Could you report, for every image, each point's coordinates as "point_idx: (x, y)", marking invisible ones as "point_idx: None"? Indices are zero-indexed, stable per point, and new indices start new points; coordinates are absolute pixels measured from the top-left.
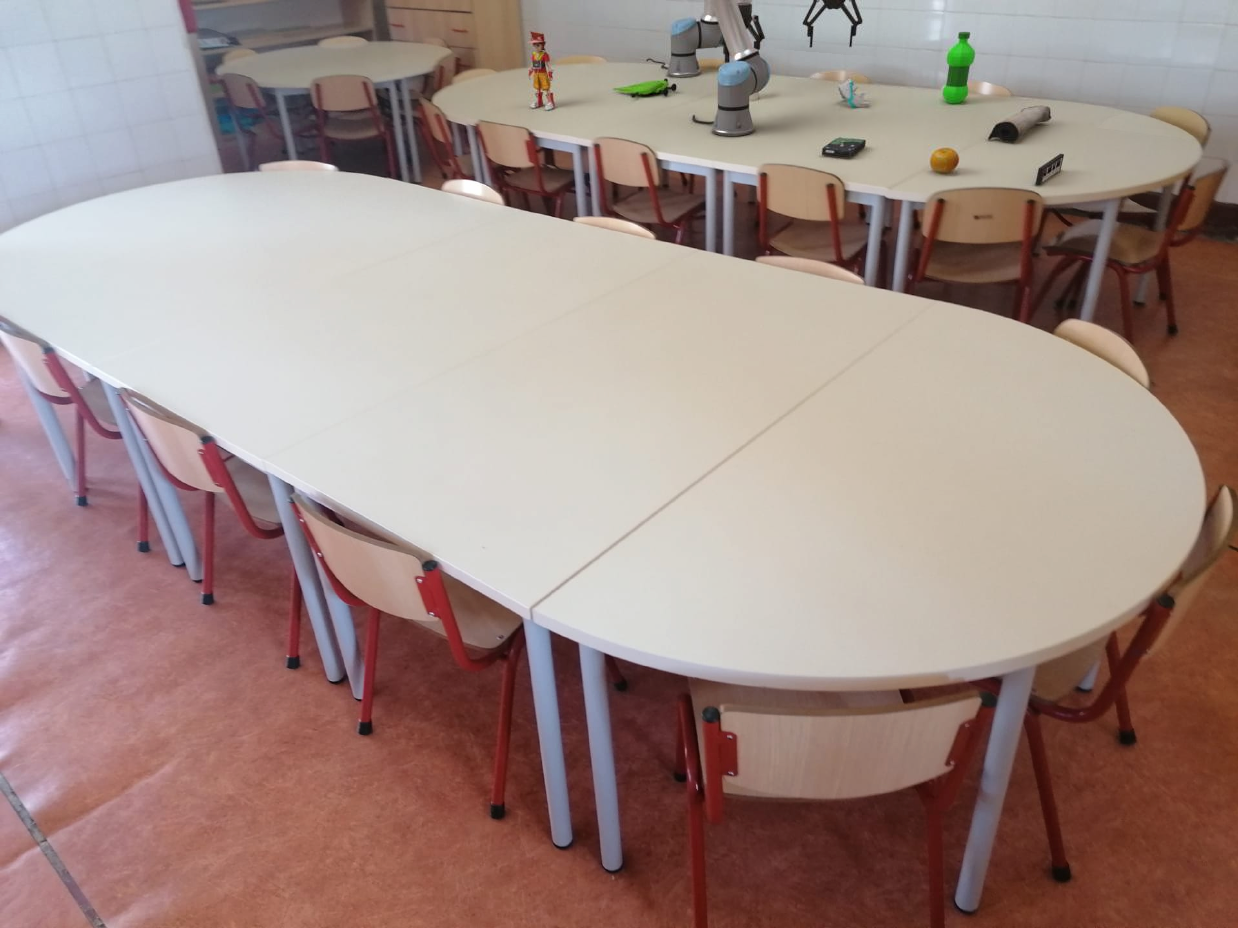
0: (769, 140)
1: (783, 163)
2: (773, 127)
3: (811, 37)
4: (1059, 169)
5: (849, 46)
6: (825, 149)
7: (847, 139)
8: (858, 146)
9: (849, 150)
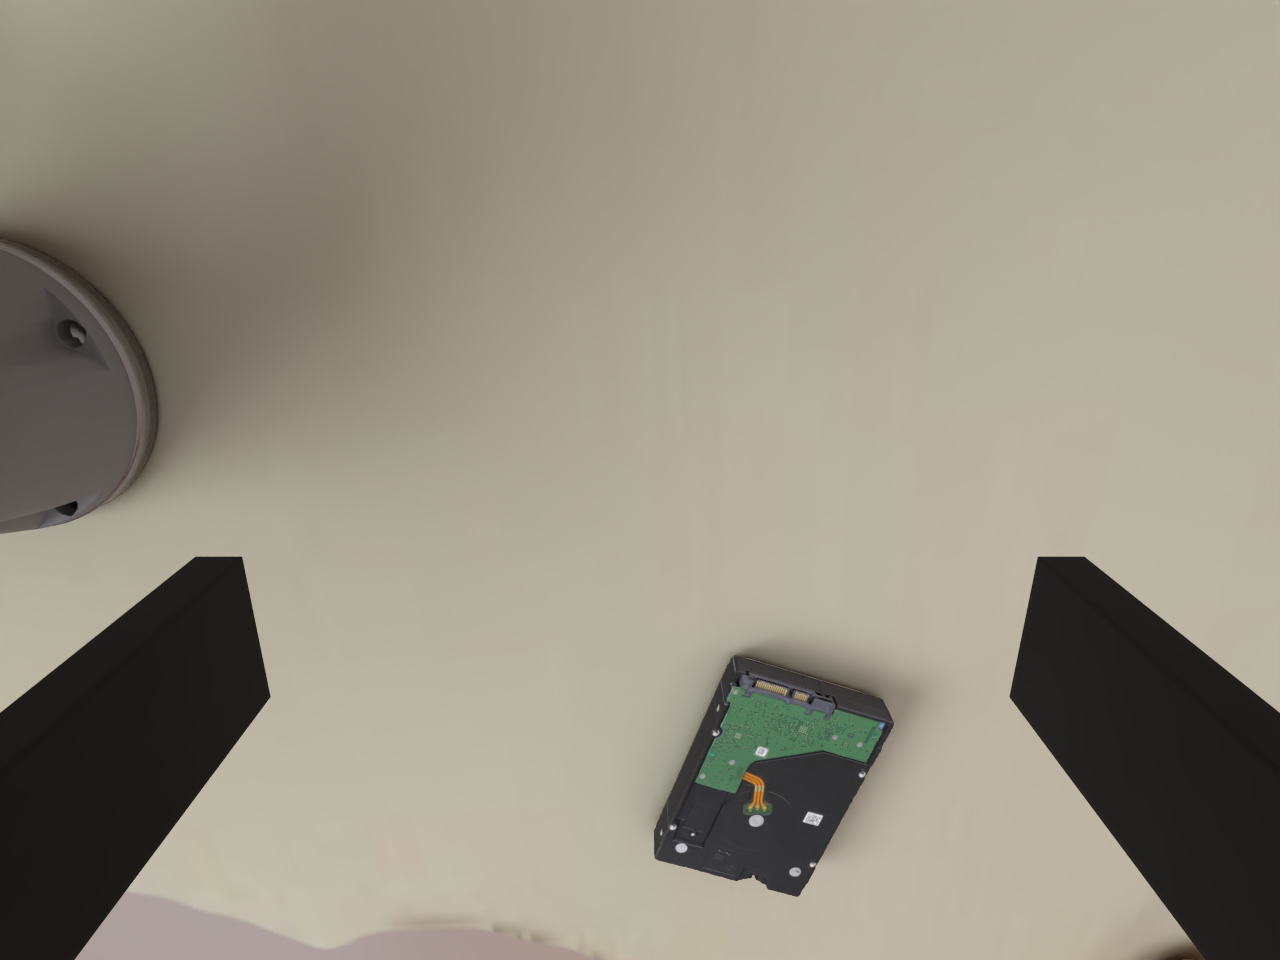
0: (321, 570)
1: (483, 916)
2: (263, 256)
3: (129, 848)
4: None
5: (1021, 702)
6: (671, 860)
7: (790, 715)
8: (844, 809)
9: (793, 887)
